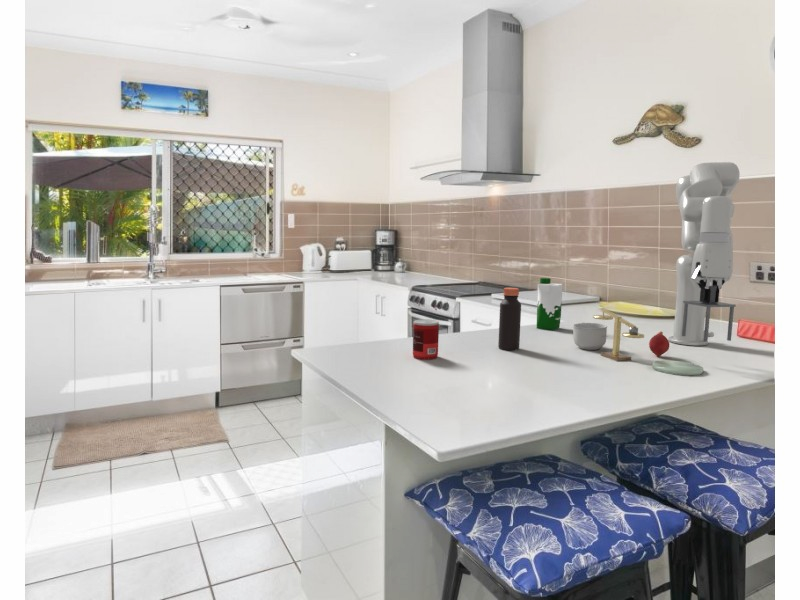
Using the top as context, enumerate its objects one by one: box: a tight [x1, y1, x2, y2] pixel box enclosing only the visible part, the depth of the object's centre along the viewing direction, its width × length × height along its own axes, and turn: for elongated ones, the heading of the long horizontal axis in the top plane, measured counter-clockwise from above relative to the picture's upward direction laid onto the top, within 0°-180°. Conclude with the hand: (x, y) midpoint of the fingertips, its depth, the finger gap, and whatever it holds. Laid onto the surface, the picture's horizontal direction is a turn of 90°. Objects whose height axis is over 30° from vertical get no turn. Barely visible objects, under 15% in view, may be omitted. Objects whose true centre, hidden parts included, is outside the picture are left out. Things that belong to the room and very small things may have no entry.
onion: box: [648, 331, 670, 357], centre depth 178 cm, size 6×6×8 cm
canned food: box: [412, 318, 440, 360], centre depth 172 cm, size 8×8×11 cm
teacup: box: [572, 322, 608, 351], centre depth 191 cm, size 14×11×8 cm
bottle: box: [497, 287, 522, 352], centre depth 185 cm, size 7×7×20 cm
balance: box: [592, 307, 645, 362], centre depth 175 cm, size 21×6×15 cm, turn 16°
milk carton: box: [536, 277, 563, 331], centre depth 226 cm, size 9×9×20 cm
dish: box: [652, 359, 704, 376], centre depth 162 cm, size 13×13×1 cm
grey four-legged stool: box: [682, 285, 737, 343], centre depth 167 cm, size 10×10×16 cm
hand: (708, 301), depth 167 cm, fingers closed on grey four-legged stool, 2 cm apart
